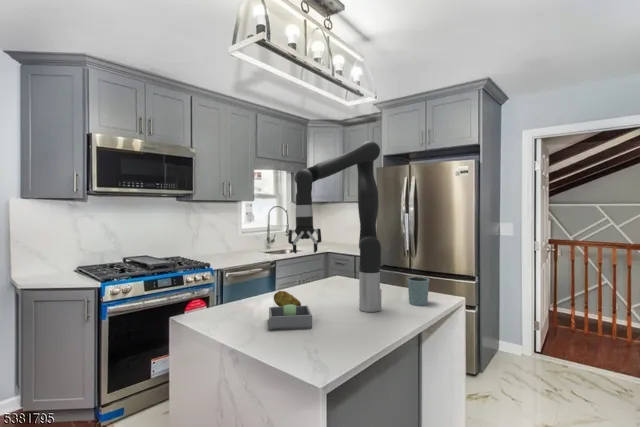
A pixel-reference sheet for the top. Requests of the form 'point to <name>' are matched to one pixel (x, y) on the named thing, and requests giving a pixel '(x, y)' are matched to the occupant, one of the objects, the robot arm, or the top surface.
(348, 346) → the top surface
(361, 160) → the robot arm
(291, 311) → the cucumber chunk
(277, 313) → the bin
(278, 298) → the potato
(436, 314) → the top surface
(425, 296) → the teal cup
